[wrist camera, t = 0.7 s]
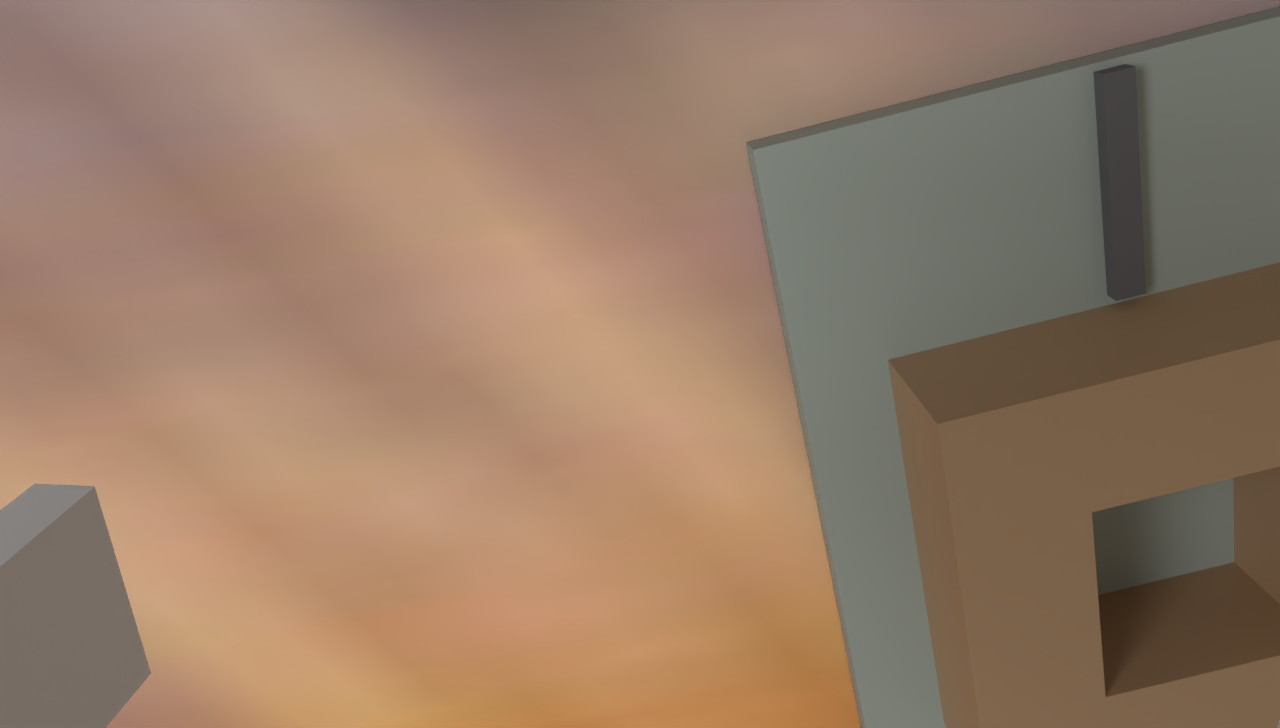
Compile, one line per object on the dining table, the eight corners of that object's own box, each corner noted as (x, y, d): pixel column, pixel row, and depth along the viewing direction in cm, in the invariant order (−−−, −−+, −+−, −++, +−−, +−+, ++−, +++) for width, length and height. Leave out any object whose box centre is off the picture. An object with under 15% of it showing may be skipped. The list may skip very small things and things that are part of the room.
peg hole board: (745, 142, 27) (785, 186, 22) (1438, -34, 26) (1625, -27, 22) (887, 857, 37) (934, 990, 32) (1388, 738, 36) (1508, 855, 32)
